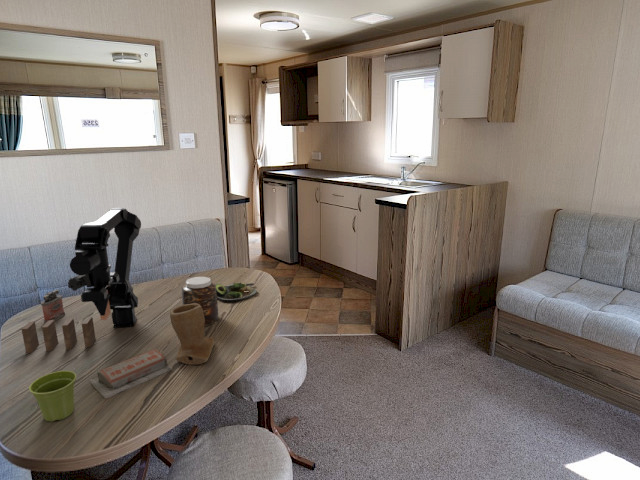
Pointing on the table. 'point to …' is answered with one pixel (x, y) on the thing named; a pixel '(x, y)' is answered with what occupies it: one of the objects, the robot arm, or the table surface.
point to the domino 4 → (88, 331)
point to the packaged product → (130, 373)
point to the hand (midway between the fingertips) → (105, 311)
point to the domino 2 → (50, 335)
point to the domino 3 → (69, 333)
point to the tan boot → (191, 334)
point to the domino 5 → (106, 311)
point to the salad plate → (233, 292)
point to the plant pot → (55, 394)
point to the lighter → (52, 306)
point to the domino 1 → (30, 337)
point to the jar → (202, 297)
